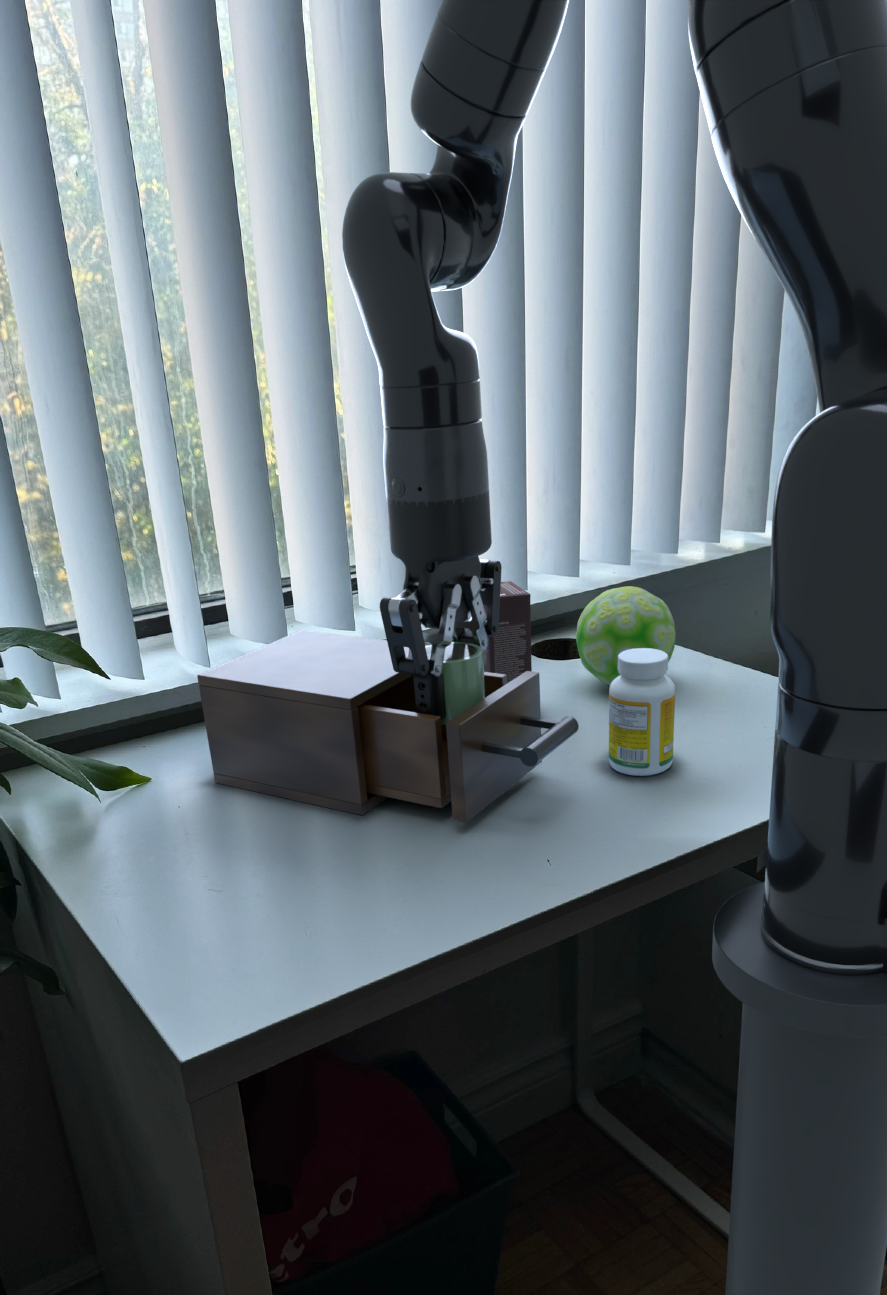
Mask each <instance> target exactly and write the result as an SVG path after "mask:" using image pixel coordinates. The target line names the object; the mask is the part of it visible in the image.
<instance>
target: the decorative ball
mask: <svg viewBox="0 0 887 1295" xmlns="http://www.w3.org/2000/svg"><path fill="white" fill-rule="evenodd" d="M676 638H677V631H676V625H675V620H674V617H673V614H672V613H671V610H670V608H669V606H668V605H667V603H665V601H664V600H663V599H662V598H659V597H658V596H656V595H655V594H653V593H651V592H649V591H648V590H646V589H644V588H642V587H638V586H631V585H630V586H629V585H628V586H620V587H615V588H611V589H607V590H605V591H603V592H601V593H600V594H599V595H597V596H596V597H595V598H594V599H592V600H591V601H590V602H589V603H588V604H587V605H586V606H585V607H584V609H583V610H582V612H581V613H580V615H579V618H578V621H577V624H576V634H575V641H576V647H577V651H578V655H579V657H580V661H581V662H580V663H581V664H582V666H583V667H584V669H585V670H586V671H588V672H589V673H591V675H592V676H594V677H595V679H597V680H598V681H600V682H601V683H603V684H606V686H607V685H608V686H610V685H611V683H612V681H613V680H614V679H615V678H617V677H618V676H620V674H619V672H618V655H619V654H620V653H621V652H623V651H626V650H629V649H636V648H651V649H657V650H661V651H663V652H665V653H666V654H667V655H668V663H670V660H671V658H672V656H673V653H674V650H675V647H676Z"/></svg>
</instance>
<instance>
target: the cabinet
mask: <svg viewBox="0 0 887 1295" xmlns="http://www.w3.org/2000/svg"><path fill="white" fill-rule="evenodd" d="M428 645H429V644H425V646H428ZM404 651H405V655H406V657H408V654H409V648H408V647H404ZM411 676H412V675H411V674H407V673H399V672H395V671H394V669H393V665H392V661H391V656H390V652H389V647H388V643H387V639H380V638H379V639H378V638H370V637H363V636H355V635H346V634H337V633H329V632H320V631H312V630H306V629H305V630H303V629H300V630H298V631H295V632H293V633H291V634H289V635H286V636H284V637H281V638H279V639H277V640H275V641H272V642H269V643H268V644H266V645H263V646H260V647H259V648H256V649H254V650H251V651H249V652H247V653H245V654H242V655H240V656H238V657H235V658H233V659H231V660H229V661H227V662H224V663H222V664H219V665H217V666H215V667H212V668H211V669H208V670H206V671H204V672H201V673H199V674H196V677H197V684H198V687H199V688H198V689H199V695H200V701H201V706H202V712H203V713H202V714H203V719H204V725H205V729H206V730H205V731H206V736H207V743H208V748H209V754H210V761H211V767H212V772H213V780H214V783H215V784H220V785H224V786H230V787H232V788H233V787H234V788H238V789H242V790H247V791H252V792H256V793H261V794H264V795H269V796H274V797H279V798H283V799H287V800H291V801H297V802H299V803H300V802H301V803H305V804H310V805H315V806H319V807H323V808H328V809H331V810H337V811H341V812H346V813H351V814H355V815H359V816H364V815H365V814H367V813H368V812H370V811H371V810H372V809H374V808H375V807H377V806H378V805H380V804H381V803H383V802H384V801H386V800H387V799H388V798H389V797H385V796H380V795H376V794H371V793H367V790H366V781H365V771H364V762H363V752H362V743H361V733H360V724H359V714H358V707H357V706H359V705H361V704H362V703H364V702H366V701H368V700H370V699H371V698H373V697H375V696H377V695H379V694H380V693H382V692H384V691H386V690H388V689H389V688H391V687H393V686H395V685H397V684H398V683H400V682H402V681H404V680H406V679H407V678H409V677H411Z"/></svg>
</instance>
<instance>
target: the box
mask: <svg viewBox="0 0 887 1295" xmlns="http://www.w3.org/2000/svg"><path fill="white" fill-rule="evenodd" d="M484 590H485V588H484ZM531 597H532V596H531V593H529V592H528V591H527V590H525V589H523V588H522V587H520V586H519V585H518V584H516V583H514V582H513V581H511V580H509V581H501V590H500V611H499V630H498V634H497V635H496V636H489V638H488V646H487V648H486V649H485V650H483V660H484V672H490V673H497V674H505V675H507V683H509V682H510V681H512V680H513V679H515V678H517V677H518V676H520V675H521V674H523V673H524V672H526V671H532V672H533V668H532V667H533V666H532V621H531V620H532V619H531V618H532V616H531V612H532V609H531V608H532V607H531ZM483 606H484V609H485V613H486V616H487V606H486V605H483ZM486 621H487V618H486Z"/></svg>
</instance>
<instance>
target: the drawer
mask: <svg viewBox="0 0 887 1295" xmlns="http://www.w3.org/2000/svg"><path fill="white" fill-rule="evenodd" d="M484 677H485V697H486V698H484V699H482V700H481V701H479V702H478V703H476V704H475V705H473V706H472V707H470V708H468V709H467V710H465V711H464V712H462V713H461V714H459V715H458V716H456V717H455V718H453V719H451V720H450V721H448V722H447V723H446V725H442V724H441V717H440V716H434V715H428V714H422V713H417V711H416V704H415V703H416V702H415V698H416V697H415V692H414V680H413V676H411V677H409V678H407V679H406V680H404V681H402V682H400V683H398V684H397V685H395V686H393V687H391V688H389V689H388V690H386V691H384V692H382V693H380V694H379V695H377V696H375V697H373V698H371V699H370V700H368V701H366V702H364V703H362V704H361V705H359V706H357V707H358V714H359V724H360V733H361V743H362V752H363V762H364V771H365V781H366V790H367V793H371V794H376V795H380V796H385V797H388V798H391V799H396V800H400V801H405V802H410V803H414V804H420V805H423V806H429V807H434V808H438V809H443V808H445V806H447V805H448V804H449V803H451V817H452V821H456V822H459V823H460V822H461V823H465V824H466V823H468V822H469V821H470V820H471V819H473V817H475V816H476V815H477V814H479V813H480V812H481V811H482V810H484V809H485V808H486V807H487V806H488V805H490V804H491V803H493V801H495V800H496V799H497V798H498V797H500V796H501V795H502V794H504V793H505V792H506V791H507V790H509V789H510V788H511V787H512V786H514V785H515V784H516V783H518V782H519V781H520V780H521V779H522V778H524V777H525V776H526V775H527V774H529V773H530V772H531V771H532V770H534V769H535V768H536V767H537V766H539V765H541V763H542V762H543V760H544V759H545V758H546V757H547V756H549V755H550V754H552V753H553V752H554V751H555V750H557V748H559V747H560V746H561V745H563V744H564V743H565V742H566V741H568V740H569V739H570V738H571V737H572V736H574V735H575V734H577V732H578V731H579V722H578V720H577V719H576V718H575V717H573V716H572V715H571V716H570V715H567V716H565V717H562V718H561V719H560V720H556V719H555V720H553V719H548V718H542V716H541V715H542V714H541V713H542V712H541V683H540V672H538V671H533V670H532V671H526V672H524V673H523V674H521V675H520V676H518V677H517V678H515V679H513V680H512V681H510V682H509V683H507V675H505V674H497V673H490V672H484ZM542 729H546V730H545V731H544V732H543V733H542Z"/></svg>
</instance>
